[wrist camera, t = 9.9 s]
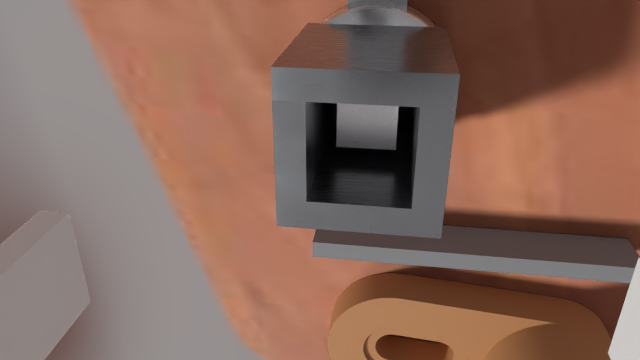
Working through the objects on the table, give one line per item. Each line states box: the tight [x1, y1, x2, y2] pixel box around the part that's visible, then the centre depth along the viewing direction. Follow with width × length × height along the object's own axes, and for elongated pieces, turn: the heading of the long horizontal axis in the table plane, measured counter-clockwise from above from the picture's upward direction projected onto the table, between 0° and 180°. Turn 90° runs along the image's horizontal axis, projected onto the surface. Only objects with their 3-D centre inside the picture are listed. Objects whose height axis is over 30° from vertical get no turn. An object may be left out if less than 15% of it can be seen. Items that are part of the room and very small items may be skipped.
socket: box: [271, 23, 460, 239], centre depth 24 cm, size 6×6×8 cm
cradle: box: [313, 225, 640, 283], centre depth 35 cm, size 14×18×3 cm
